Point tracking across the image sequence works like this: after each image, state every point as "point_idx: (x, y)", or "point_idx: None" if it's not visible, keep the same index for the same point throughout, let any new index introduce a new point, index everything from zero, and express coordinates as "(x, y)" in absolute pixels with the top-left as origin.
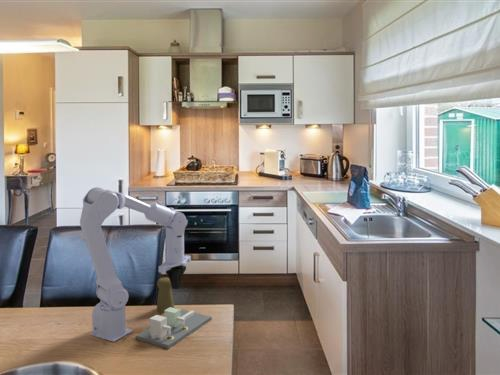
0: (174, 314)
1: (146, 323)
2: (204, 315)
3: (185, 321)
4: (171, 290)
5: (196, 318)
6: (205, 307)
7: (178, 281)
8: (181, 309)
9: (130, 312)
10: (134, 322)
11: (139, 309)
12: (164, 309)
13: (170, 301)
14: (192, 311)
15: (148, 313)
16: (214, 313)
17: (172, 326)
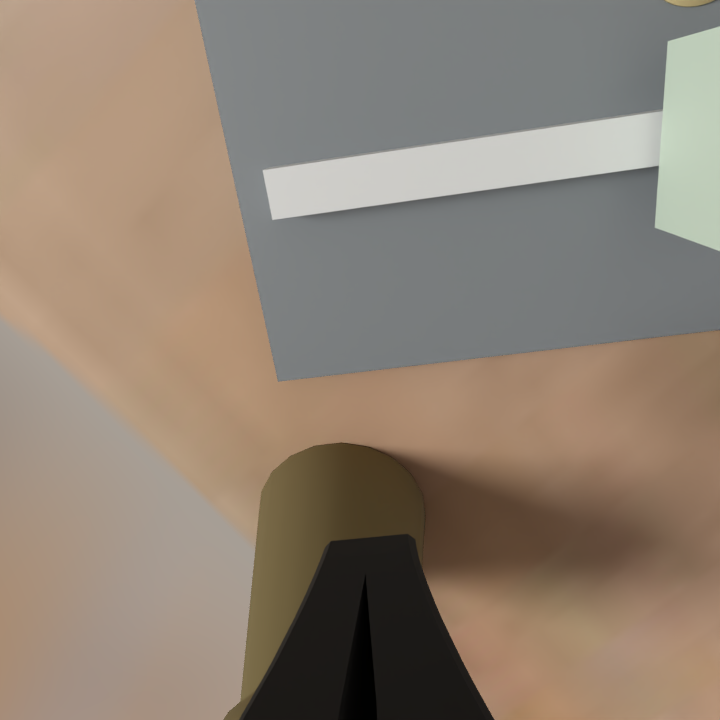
0: None
1: (669, 443)
2: (212, 22)
3: (502, 102)
4: (268, 644)
5: (349, 47)
6: (12, 253)
7: (406, 669)
8: (280, 379)
9: (552, 664)
10: (698, 528)
11: (469, 655)
12: (404, 495)
13: (334, 524)
14: (288, 188)
15: (489, 563)
16: (30, 32)
17: None
